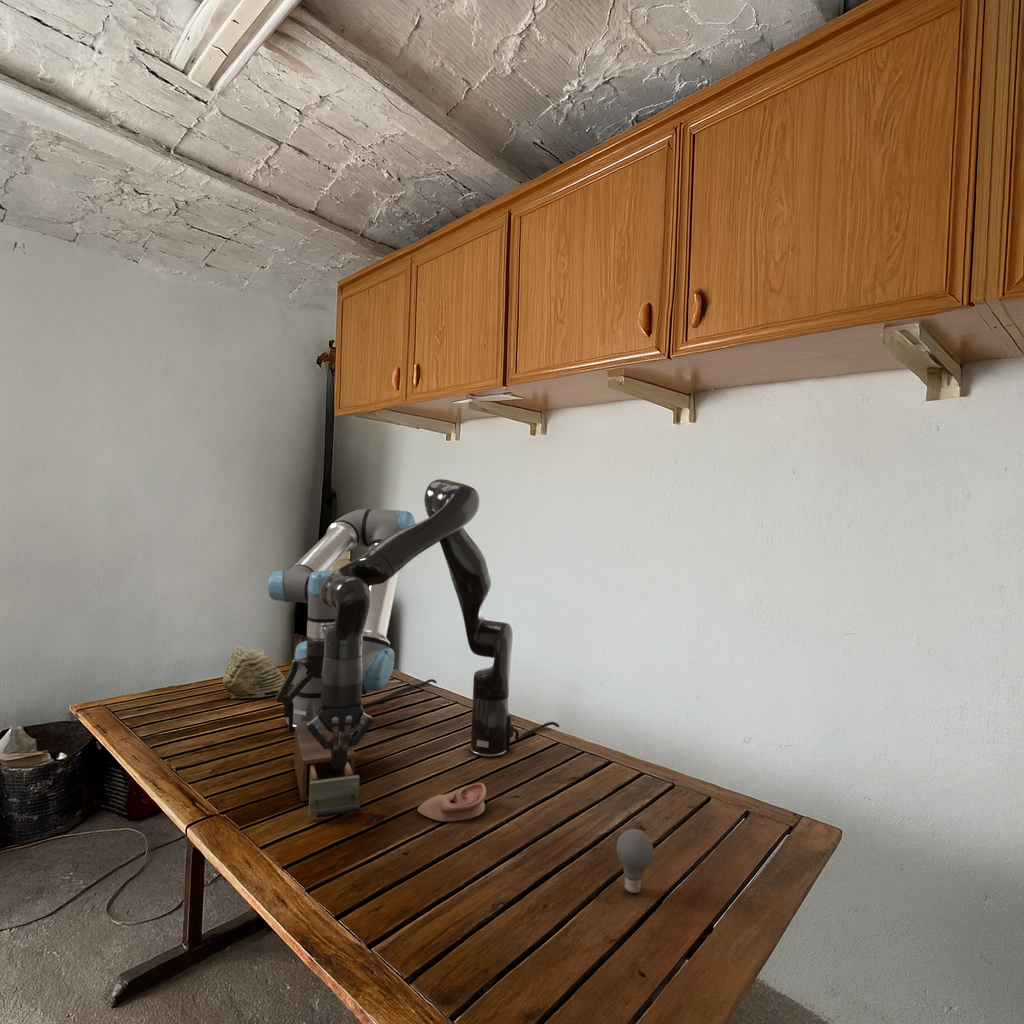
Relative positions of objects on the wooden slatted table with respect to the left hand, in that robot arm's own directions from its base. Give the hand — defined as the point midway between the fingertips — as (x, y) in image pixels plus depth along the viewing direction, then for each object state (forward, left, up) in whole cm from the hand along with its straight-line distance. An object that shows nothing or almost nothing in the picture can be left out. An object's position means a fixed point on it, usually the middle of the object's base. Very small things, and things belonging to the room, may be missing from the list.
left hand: (321, 727), depth 149 cm
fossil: (-16, -58, -9) cm, 61 cm away
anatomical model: (-6, +37, -9) cm, 39 cm away
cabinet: (+3, +6, -9) cm, 11 cm away
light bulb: (-7, +78, -9) cm, 79 cm away
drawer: (+9, +17, -8) cm, 21 cm away
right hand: (+14, +26, +2) cm, 29 cm away
